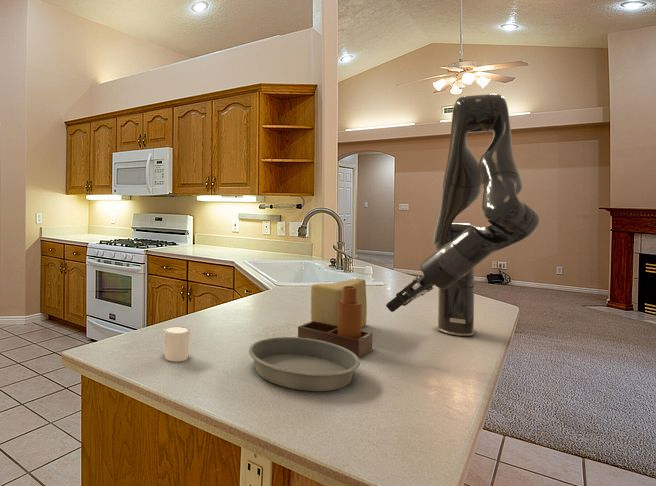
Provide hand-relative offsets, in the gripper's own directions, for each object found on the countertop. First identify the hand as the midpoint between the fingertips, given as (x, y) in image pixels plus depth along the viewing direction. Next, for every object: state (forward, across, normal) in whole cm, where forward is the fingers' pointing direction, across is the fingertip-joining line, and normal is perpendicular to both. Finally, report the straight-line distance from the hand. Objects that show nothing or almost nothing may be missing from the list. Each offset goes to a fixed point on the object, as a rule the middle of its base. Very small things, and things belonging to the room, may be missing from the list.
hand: (395, 305), depth 111 cm
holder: (+21, 0, -1) cm, 21 cm away
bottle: (+17, 0, +1) cm, 17 cm away
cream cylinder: (+38, +37, -18) cm, 56 cm away
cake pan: (+19, +23, +1) cm, 30 cm away
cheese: (+24, -17, -4) cm, 30 cm away
